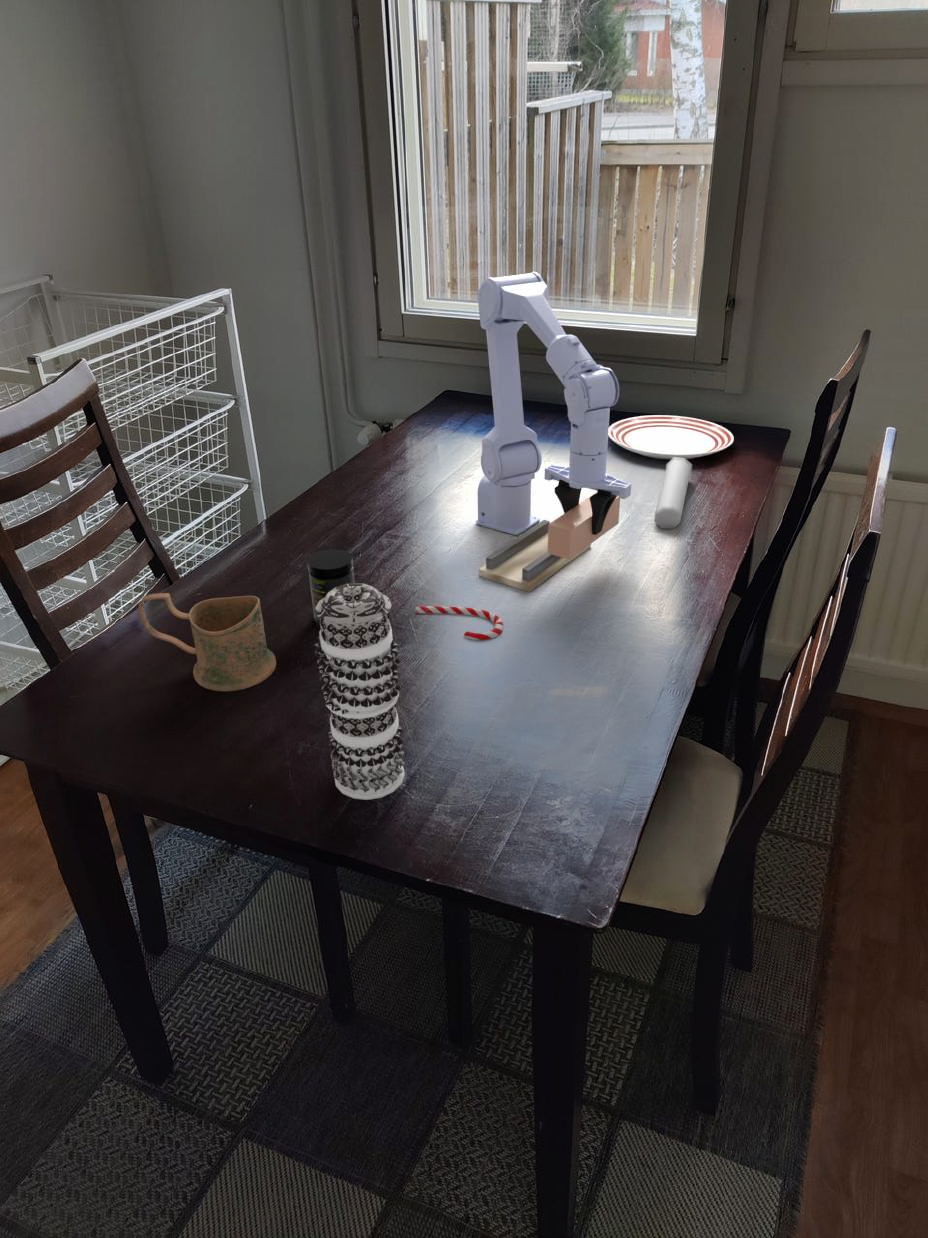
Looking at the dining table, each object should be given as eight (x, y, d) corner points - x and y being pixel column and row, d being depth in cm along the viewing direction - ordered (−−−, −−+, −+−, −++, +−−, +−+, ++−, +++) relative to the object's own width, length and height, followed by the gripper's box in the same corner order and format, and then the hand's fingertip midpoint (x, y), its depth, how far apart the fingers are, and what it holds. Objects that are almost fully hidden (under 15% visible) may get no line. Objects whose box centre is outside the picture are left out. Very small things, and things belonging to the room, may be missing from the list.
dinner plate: (640, 418, 222) (641, 405, 220) (750, 439, 208) (753, 425, 206) (584, 453, 203) (585, 438, 201) (701, 478, 189) (703, 463, 187)
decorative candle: (316, 792, 108) (291, 608, 95) (352, 745, 116) (333, 568, 103) (387, 810, 105) (371, 622, 92) (419, 761, 113) (408, 581, 100)
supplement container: (347, 633, 139) (340, 571, 134) (306, 626, 141) (299, 566, 135) (364, 611, 144) (359, 551, 139) (325, 605, 146) (319, 546, 141)
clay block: (547, 553, 145) (548, 524, 143) (597, 517, 156) (599, 490, 154) (569, 559, 143) (570, 530, 141) (618, 523, 154) (620, 495, 152)
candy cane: (424, 596, 146) (511, 614, 141) (424, 603, 147) (511, 621, 142) (401, 620, 140) (492, 639, 135) (402, 627, 141) (492, 646, 136)
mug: (166, 646, 137) (150, 575, 131) (283, 646, 136) (273, 574, 130) (140, 691, 127) (121, 616, 121) (266, 691, 126) (254, 616, 120)
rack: (478, 575, 154) (478, 558, 152) (542, 532, 168) (543, 516, 166) (529, 591, 149) (529, 574, 147) (590, 546, 162) (591, 529, 161)
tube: (686, 514, 164) (696, 463, 185) (658, 502, 165) (671, 452, 185) (674, 538, 167) (685, 485, 188) (647, 527, 168) (661, 475, 188)
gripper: (535, 447, 143) (533, 527, 150) (618, 466, 136) (612, 549, 143) (558, 434, 148) (555, 512, 155) (640, 452, 141) (633, 532, 147)
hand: (584, 529), depth 149 cm, fingers closed on clay block, 4 cm apart
